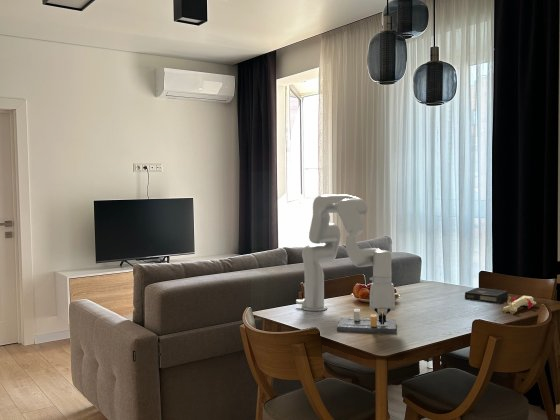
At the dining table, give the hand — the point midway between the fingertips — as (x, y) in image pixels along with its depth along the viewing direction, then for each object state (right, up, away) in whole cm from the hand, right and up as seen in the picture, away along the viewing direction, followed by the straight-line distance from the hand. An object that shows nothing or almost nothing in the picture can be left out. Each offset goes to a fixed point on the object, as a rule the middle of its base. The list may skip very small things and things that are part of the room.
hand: (382, 323), depth 233 cm
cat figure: (+73, -1, +37) cm, 82 cm away
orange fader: (-3, -1, +1) cm, 4 cm away
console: (-5, -3, +6) cm, 8 cm away
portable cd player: (+66, 0, +61) cm, 90 cm away
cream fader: (-9, 0, +11) cm, 14 cm away
